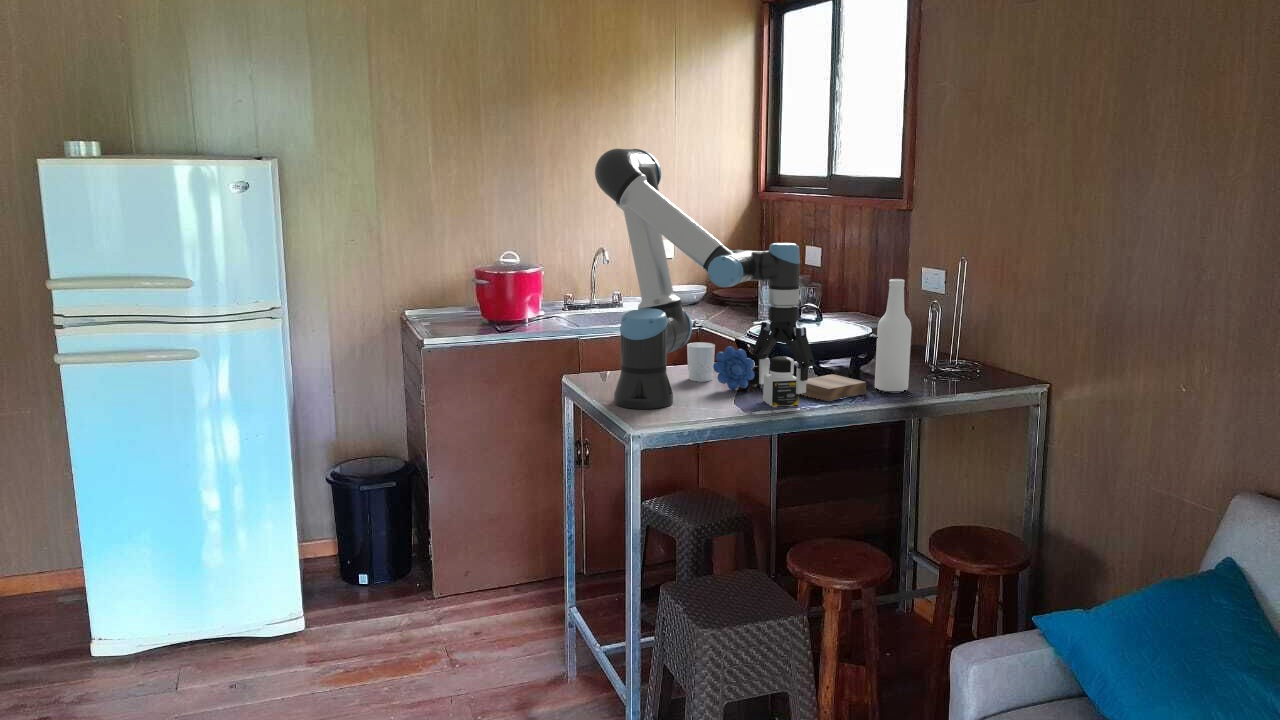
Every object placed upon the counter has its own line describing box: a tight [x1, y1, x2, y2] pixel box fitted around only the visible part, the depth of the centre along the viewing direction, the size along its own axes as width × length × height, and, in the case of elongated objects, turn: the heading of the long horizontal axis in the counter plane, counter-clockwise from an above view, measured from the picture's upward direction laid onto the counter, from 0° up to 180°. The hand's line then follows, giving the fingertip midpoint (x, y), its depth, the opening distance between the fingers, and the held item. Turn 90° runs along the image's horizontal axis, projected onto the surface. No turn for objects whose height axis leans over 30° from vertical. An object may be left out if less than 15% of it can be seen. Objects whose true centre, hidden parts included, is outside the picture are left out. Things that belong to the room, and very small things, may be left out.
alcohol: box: [874, 278, 913, 391], centre depth 255 cm, size 9×9×30 cm
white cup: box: [686, 341, 716, 383], centre depth 270 cm, size 8×8×10 cm
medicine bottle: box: [762, 356, 800, 408], centre depth 241 cm, size 7×7×12 cm
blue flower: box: [713, 345, 756, 390], centre depth 256 cm, size 12×7×12 cm, turn 102°
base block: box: [800, 373, 867, 401], centre depth 252 cm, size 14×12×4 cm
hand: (782, 388), depth 242 cm, fingers open, 13 cm apart
